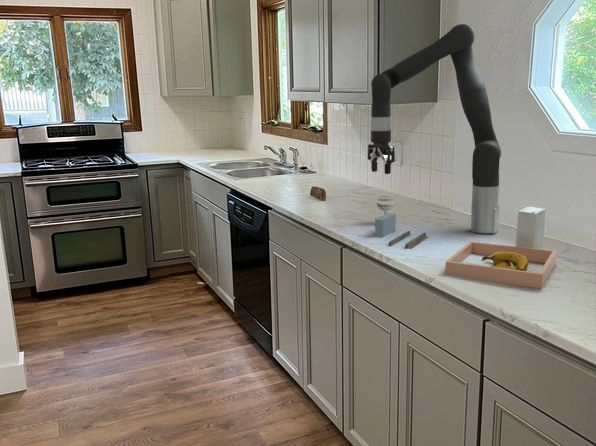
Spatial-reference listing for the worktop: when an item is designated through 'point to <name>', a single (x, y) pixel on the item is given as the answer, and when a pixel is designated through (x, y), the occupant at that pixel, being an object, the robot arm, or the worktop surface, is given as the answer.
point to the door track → (412, 242)
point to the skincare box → (530, 227)
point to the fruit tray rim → (502, 274)
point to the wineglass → (385, 203)
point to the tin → (318, 193)
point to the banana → (508, 260)
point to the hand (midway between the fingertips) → (380, 172)
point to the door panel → (385, 225)
